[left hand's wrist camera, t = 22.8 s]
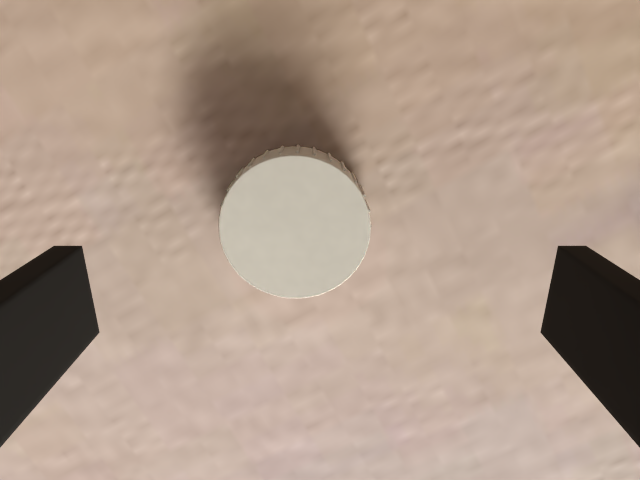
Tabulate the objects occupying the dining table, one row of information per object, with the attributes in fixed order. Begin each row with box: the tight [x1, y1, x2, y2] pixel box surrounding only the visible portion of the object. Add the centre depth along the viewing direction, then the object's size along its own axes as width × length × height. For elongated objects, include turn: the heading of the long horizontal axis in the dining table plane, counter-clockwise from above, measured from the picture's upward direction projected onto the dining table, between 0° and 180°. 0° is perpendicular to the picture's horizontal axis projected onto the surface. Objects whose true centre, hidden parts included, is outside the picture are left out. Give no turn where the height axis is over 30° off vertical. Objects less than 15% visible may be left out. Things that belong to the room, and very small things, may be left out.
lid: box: [219, 144, 371, 298], centre depth 18 cm, size 6×6×2 cm
